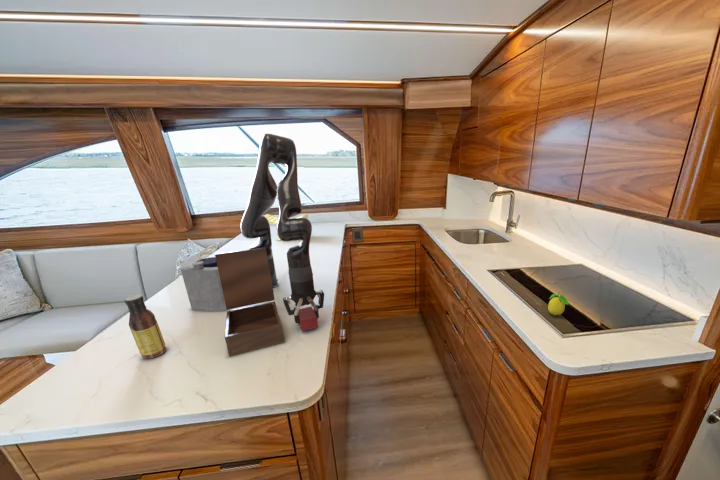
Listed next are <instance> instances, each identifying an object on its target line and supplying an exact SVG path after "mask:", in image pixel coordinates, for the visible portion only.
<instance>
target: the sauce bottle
mask: <svg viewBox="0 0 720 480" xmlns="http://www.w3.org/2000/svg"><path fill="white" fill-rule="evenodd" d="M123 301H124V303H125V305H126V306H127V308H128V312H129V318H128V327H129V329H130V332H131V334H132V337H133V340H134V341H135V344H136V346H137V349H138V351H139V353H140V355H141V357H142V358H144V359H146V360H147V359H148V360H149V359H155V358H157V357H160V356H161V355H162V354H164V353H165V352H166V351H167V345H166V341H165V338H164V336H163V334H162V331H161V328H160V326H159V323H158V321H157V319H156V316H155V313H153V312H152V310H150V309H148V308H147V306H146V303H145V301H144V296H143V294H141V293H138V294H133V295H130V296H127V297H125V298H124V300H123Z"/></svg>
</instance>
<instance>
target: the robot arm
mask: <svg viewBox="0 0 720 480" xmlns="http://www.w3.org/2000/svg"><path fill="white" fill-rule="evenodd" d="M297 154H298V153H297V148H296V143H295V142H294V140H293V139H291V138H289V137H285V136H281V135H277V134H273V133H264V134H263V136H262V138H261V140H260V144H259V150H258V156H257V163H256V170H255V173H254V177H253V179H252V184H251V188H250V192H249V197H248V200H247V201H248V202H247V206H246V208H245V211H244V213H243V216H242V219H241V221H240V232H241V234H242V236H243V237H244V238H245V239H248V240H251V239H252V240H253V239H257V241H255V242H254V243H253V244H251V245H250V246H249V249H248V250H251V249H259V248H266V253H267V259H268V264H269V270H270V275H271V281H272V287H273V289H276V287H278V286H279V282H278V278H277V272H276V271H277V270H276V265H275V260H274V254H273V247H272V246H273V241H272V233H271V226H270V225H271V224H269V222H268V220H267V218H266V217H265V216H264V215H265V214H266V212H267V211H269V210H270V209H271V208H272V207H273V205H274V204H275V201H276V199H277V205H278V218H279V219H278V224H276V235H277V238H278V237H279V238H280V239H281V240H280V241H282V242H297V241H300V243H299V244H297V245H295V246H291V247H289V248H287V250H286V259H287V265H288V279H289V285H290V292H291V293H290V296H289V297H283V298H282V301H283V304H284V307H285V309H286V312H287V315H288V316H293V318H294V322H295V324H297V325H300V322H299V315H298V312H299V310H300V309H301V308H302V307H304V306H308V305H310V306H312V308H313V310H314V312H315V314H316V316H317V321H318V319H319V318H320V312H319V310H320V309H323V308H324V304H325V303H324V302H325V293H324V291H323V289H320V290H319V291H317V290H316V289H315V285H314V273H313V268H312V264H311V258H310V257H311V256H310V243H311V238H312V232H313V226H312V223H311V221H310V220H309V218H308V219H307V218H298V217H297V216H299V215H300V214H301V213H302V212H303V206H302V202H301V201H302V200H301V195H300V192H299V181H298V158H297V156H298V155H297ZM271 163H272V164H275V165H276V164H277V165H282V166H283V165H284V166H286V171H285V173H284V175H283V176H282V178H281V180H280V181H279V183H278V185H277V182H276V180H275V179H274V177H273V175H272V173H271V171H270V167H269V165H270V164H271ZM293 217H295V218H293ZM316 297H317V298H318V303H317V304H316V303H315V301H314V299H315V298H316ZM291 301H293V302H294V305H293V306H294V307H293V309H291V306H290V304H291Z"/></svg>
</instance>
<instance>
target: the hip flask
mask: <svg viewBox="0 0 720 480" xmlns="http://www.w3.org/2000/svg"><path fill="white" fill-rule="evenodd" d="M203 264H204V263H203V262H197V261H195V262H193V263H192V266H182V267H181V268H180V272H181V276H182V280H183V283H184V286H185V290H186V293H187V294H186V295H187V297H188V301H189V305H190V308H191V310H192V311H198V312H227V311H228V310H230V309H228V310H227V309H226V304H225V300H224V295H223V290H222V286H221V281H220V276H219V272H218V267H204V266H203Z"/></svg>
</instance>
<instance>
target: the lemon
mask: <svg viewBox="0 0 720 480" xmlns="http://www.w3.org/2000/svg"><path fill="white" fill-rule="evenodd" d="M548 300H549V302H548V304H547V310H548V312H549V313H550V314H551V315H553V317H554V316H555V317H557V316H560V315H562V314H563V313H564V312H565V309H566V305H569V300H568V298H567V297H566V296H565V295H563V294H560V292H558V294H557V293H552V294H551V295H550V297H549V298H548Z"/></svg>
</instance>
